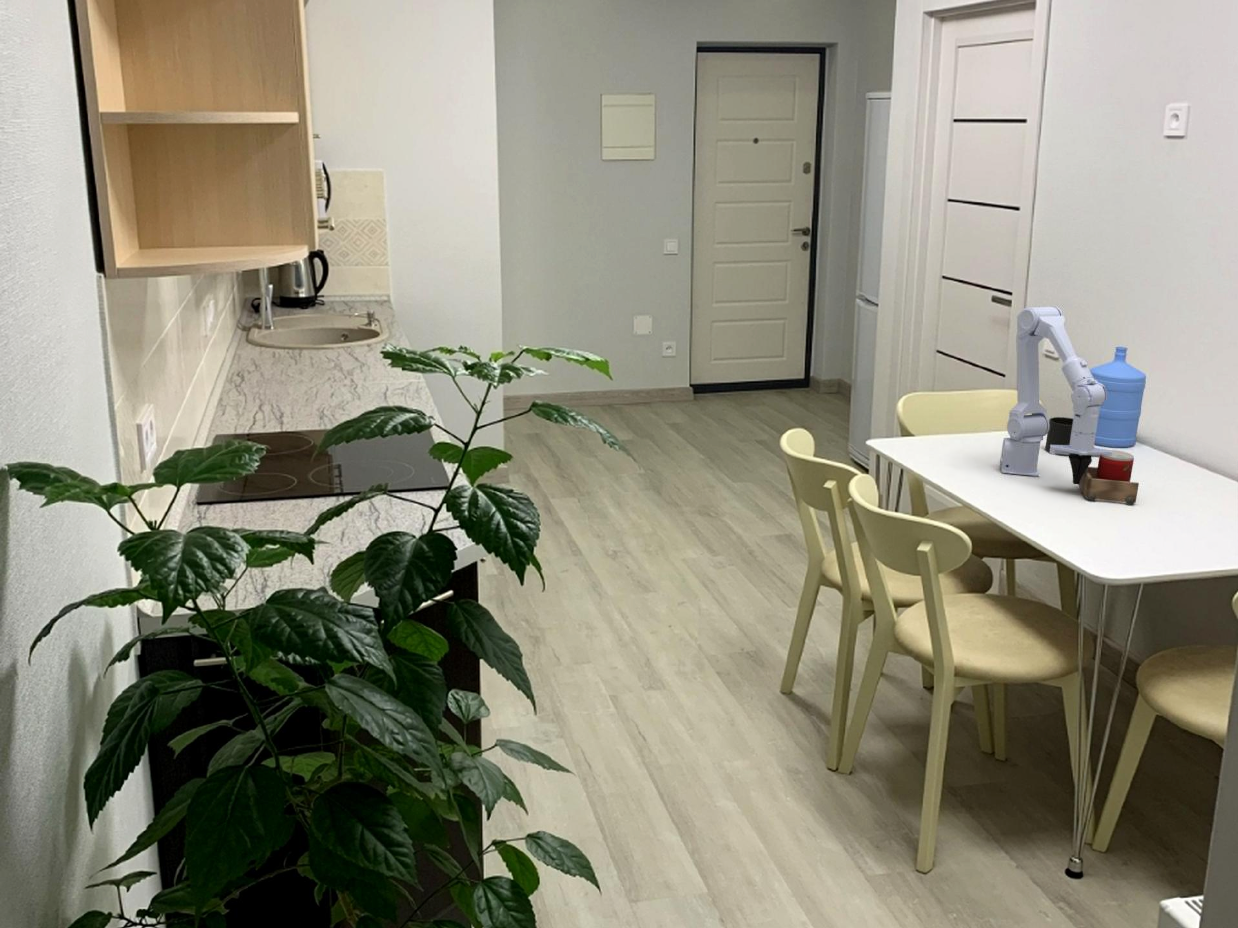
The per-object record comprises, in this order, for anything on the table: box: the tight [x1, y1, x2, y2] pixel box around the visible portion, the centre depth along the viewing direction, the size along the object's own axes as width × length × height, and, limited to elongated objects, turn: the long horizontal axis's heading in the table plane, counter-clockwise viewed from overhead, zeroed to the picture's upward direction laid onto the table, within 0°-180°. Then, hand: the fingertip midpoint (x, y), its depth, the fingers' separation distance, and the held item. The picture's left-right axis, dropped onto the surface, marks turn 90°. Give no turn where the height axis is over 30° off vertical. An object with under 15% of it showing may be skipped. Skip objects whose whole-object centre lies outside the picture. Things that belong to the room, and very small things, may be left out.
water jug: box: [1089, 346, 1147, 449], centre depth 348 cm, size 16×16×28 cm
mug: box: [1044, 416, 1074, 457], centre depth 339 cm, size 9×12×9 cm
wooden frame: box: [1078, 466, 1140, 506], centre depth 300 cm, size 12×13×6 cm
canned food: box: [1096, 449, 1135, 482], centre depth 299 cm, size 8×8×11 cm
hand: (1075, 483), depth 301 cm, fingers closed
